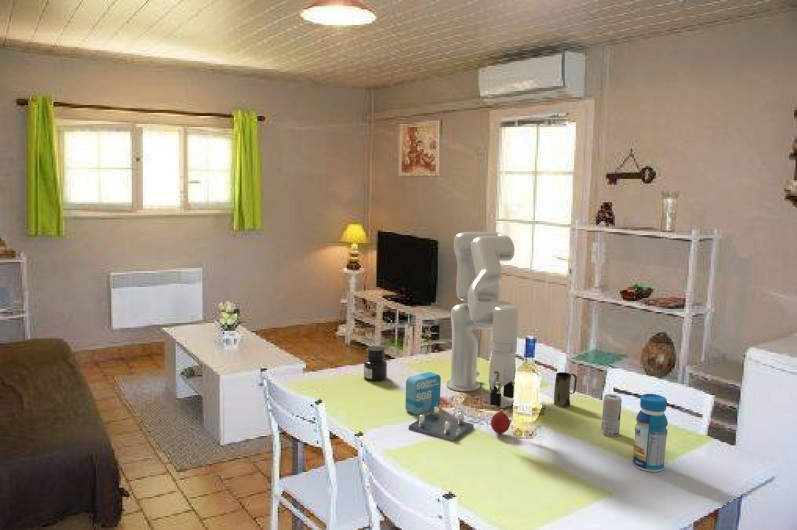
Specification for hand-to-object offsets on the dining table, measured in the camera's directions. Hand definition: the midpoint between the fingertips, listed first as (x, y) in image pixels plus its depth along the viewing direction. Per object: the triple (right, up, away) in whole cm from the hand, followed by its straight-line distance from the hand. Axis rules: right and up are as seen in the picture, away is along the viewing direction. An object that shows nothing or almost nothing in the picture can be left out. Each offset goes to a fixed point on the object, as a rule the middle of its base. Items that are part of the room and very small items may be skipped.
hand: (501, 401), depth 200 cm
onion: (0, -11, +2) cm, 11 cm away
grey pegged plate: (-18, -10, +6) cm, 21 cm away
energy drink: (+35, -11, +5) cm, 37 cm away
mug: (+26, -8, +29) cm, 40 cm away
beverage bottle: (+38, -15, -17) cm, 44 cm away
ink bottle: (-41, -3, +53) cm, 67 cm away
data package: (-23, -8, +21) cm, 33 cm away
